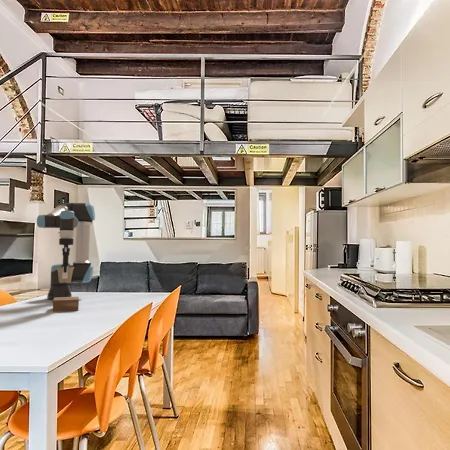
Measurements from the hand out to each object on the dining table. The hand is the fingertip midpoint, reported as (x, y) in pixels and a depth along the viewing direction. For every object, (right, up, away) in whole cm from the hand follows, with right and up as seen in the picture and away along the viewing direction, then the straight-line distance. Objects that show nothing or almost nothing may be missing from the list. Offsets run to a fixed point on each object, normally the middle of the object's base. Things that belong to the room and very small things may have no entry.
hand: (65, 277), depth 224 cm
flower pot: (0, -3, 0) cm, 3 cm away
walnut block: (+1, -18, -1) cm, 18 cm away
